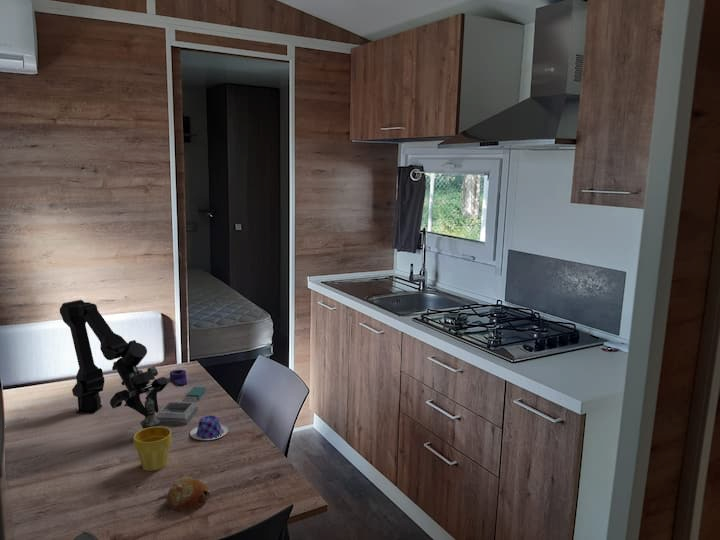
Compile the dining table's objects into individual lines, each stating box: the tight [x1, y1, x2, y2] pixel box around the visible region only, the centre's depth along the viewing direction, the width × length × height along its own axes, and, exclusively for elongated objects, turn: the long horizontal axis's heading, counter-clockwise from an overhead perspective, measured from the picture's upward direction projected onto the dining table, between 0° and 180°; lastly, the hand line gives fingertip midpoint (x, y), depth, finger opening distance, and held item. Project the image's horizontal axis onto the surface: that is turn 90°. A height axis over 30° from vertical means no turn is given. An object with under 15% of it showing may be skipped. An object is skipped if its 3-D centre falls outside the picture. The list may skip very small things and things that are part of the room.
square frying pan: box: [155, 386, 207, 425], centre depth 210 cm, size 11×29×4 cm, turn 176°
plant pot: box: [132, 425, 173, 472], centre depth 168 cm, size 10×10×10 cm
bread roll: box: [166, 476, 210, 512], centre depth 151 cm, size 10×10×8 cm
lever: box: [169, 369, 188, 387], centre depth 236 cm, size 12×6×3 cm, turn 30°
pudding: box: [189, 415, 229, 441], centre depth 190 cm, size 12×12×5 cm
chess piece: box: [140, 398, 160, 429], centre depth 187 cm, size 6×6×12 cm
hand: (152, 414), depth 186 cm, fingers closed on chess piece, 4 cm apart
